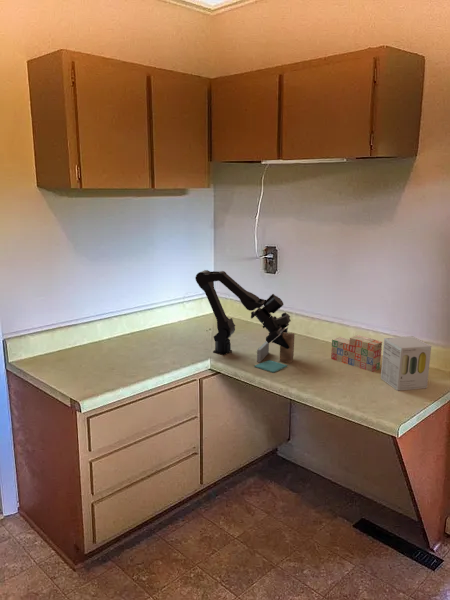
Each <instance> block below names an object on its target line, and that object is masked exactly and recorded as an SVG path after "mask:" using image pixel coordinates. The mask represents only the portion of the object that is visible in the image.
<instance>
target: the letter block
mask: <svg viewBox="0 0 450 600" xmlns="http://www.w3.org/2000/svg"><path fill="white" fill-rule="evenodd" d="M295 335H296V334H295V332H294V333H293V332H287V333H286V332H283V338H284V340H285V341H286V343H287V344H288V346H289V348H288V349H286V348H284V347H282V346H280V345H279V362H281V363H282V362H283V363H290V364H292V361H293V360H294V355H295V354H294V351H295Z"/></svg>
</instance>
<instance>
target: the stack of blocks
mask: <svg viewBox="0 0 450 600" xmlns="http://www.w3.org/2000/svg"><path fill="white" fill-rule="evenodd" d="M382 351H383V341H380V340H378V339H377V340H376V339H375V338H371V337H366V336H363V335H358V334H357V335H354V336H351V337H349V338H345V337H342V336H339V337H336V338H334V339H332V340H331V356H330V359H331V360H334V361H337V362H340V363H343V364H346V365H348V366H349V365H350V366H353V367H355V368H360V369H362V370H366V371H369V372H371V373H372V372H373V373H374V371H377V370H379V369H381V367H380V366H381V360H382V358H381V357H382Z"/></svg>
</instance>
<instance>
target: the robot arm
mask: <svg viewBox="0 0 450 600" xmlns="http://www.w3.org/2000/svg"><path fill="white" fill-rule="evenodd" d="M194 278H195V282H196V283H197V285H198V286H199V288H200V289H201V290H202V291H203V292H204V294H205V295H206V296H205V297H206V299H207V301H208V302H209V305H210V308H211V311H212V313H213V315H214V316H215V317H214V318H215V319H216V327H217V333H216V334H215V335H214V336H213V339H214V342H215V343H214V346H215V347H214V350H212V352H213V353H216V354H219V355H224V356H225V355H227V354H229V353H232V352H233V350H232V349H231V345H232V344H231V343H232V342H231V339H230V338H231V337H232V335H233V334H234V333H235V331H236V324H235V323H234V320H233V318H231V317H230V318H229V317H228V316H227V314H226V312H225V310H224V308H223V306H222V303H221V301H220V298H219V296H218V294H217V292H216V289H215V284H214V282H219V283H221V284H222V285H223V286H224V287H225V288H226V289H228V290H229V291H231V293H233V294H234V295H235V296H236V297H237V298H238V299H239V301H240V303H241V304H242V306H243V307H244V308H245V309H246V310H248V311H251V312H250V319H254V318H255V317H256V319H257V320H258V321H259V322H260V323H261V325H262V328H263V329H266V331H268V335H267V336H266V337H265V342H268V343H269V344H271V343H274V344H275V345H277V346H279V347H280V346H282V347H284V348H286V349H288V348H289V346H288V344H287V343H286V341H285V340H284V338H283V332H286V333H288V329H289V325H290V324H289V323H290V322H292V321H291V316H290V315H289V314H288V313H286V312H283V313H282V314H281V316H280V317H277V316H275V315H274V316H273V315H272V314H275V313H276V312H277V311H278V310H280V309H281V308H282V307H284V302H283V300H282V299H281V298H280V297H279V296H278V295H275V294H274V293H272V294H270V295H269V297H268V298H267V299H263V298H260V297H259V296H257V295H256V294H254V293H253V292H250V291H247V290H246V289H245V288H244V287H242V286H241V284H239V283H238V282H237V281H235V280H234V279H233V278H232V277H231V276H230V275H228V274H227V272H226V271H224V270H220V271H219V270H218V271H211V270H208V269H204V270H202V271H200V272H198V273H197V274H196V275H195V277H194Z"/></svg>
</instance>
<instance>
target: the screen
mask: <svg viewBox="0 0 450 600" xmlns="http://www.w3.org/2000/svg"><path fill="white" fill-rule="evenodd" d="M269 349H270V343H268V342H267V341H264V343H262V344H261V346H260V347H258V349H256V350H257V351H256V362H257V363H262V362H263V360H264V359H265V358H266V356H268V354H269V351H270V350H269Z"/></svg>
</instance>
